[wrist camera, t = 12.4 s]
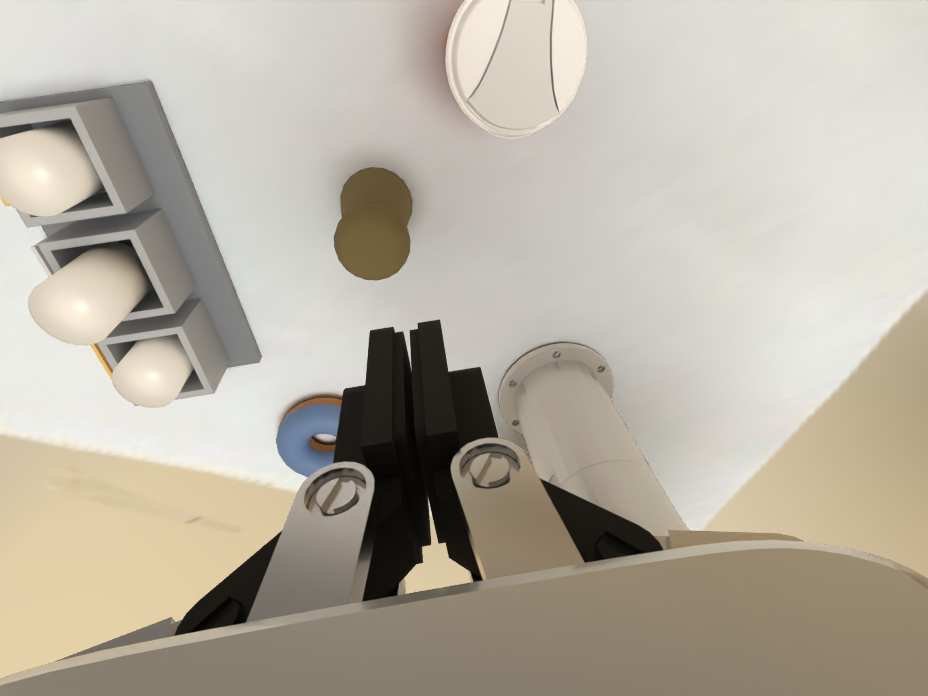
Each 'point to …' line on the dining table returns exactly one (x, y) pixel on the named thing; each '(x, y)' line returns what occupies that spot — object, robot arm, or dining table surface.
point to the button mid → (90, 294)
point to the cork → (374, 224)
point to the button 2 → (153, 371)
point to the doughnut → (308, 435)
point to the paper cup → (515, 62)
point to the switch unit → (143, 228)
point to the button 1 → (46, 170)
